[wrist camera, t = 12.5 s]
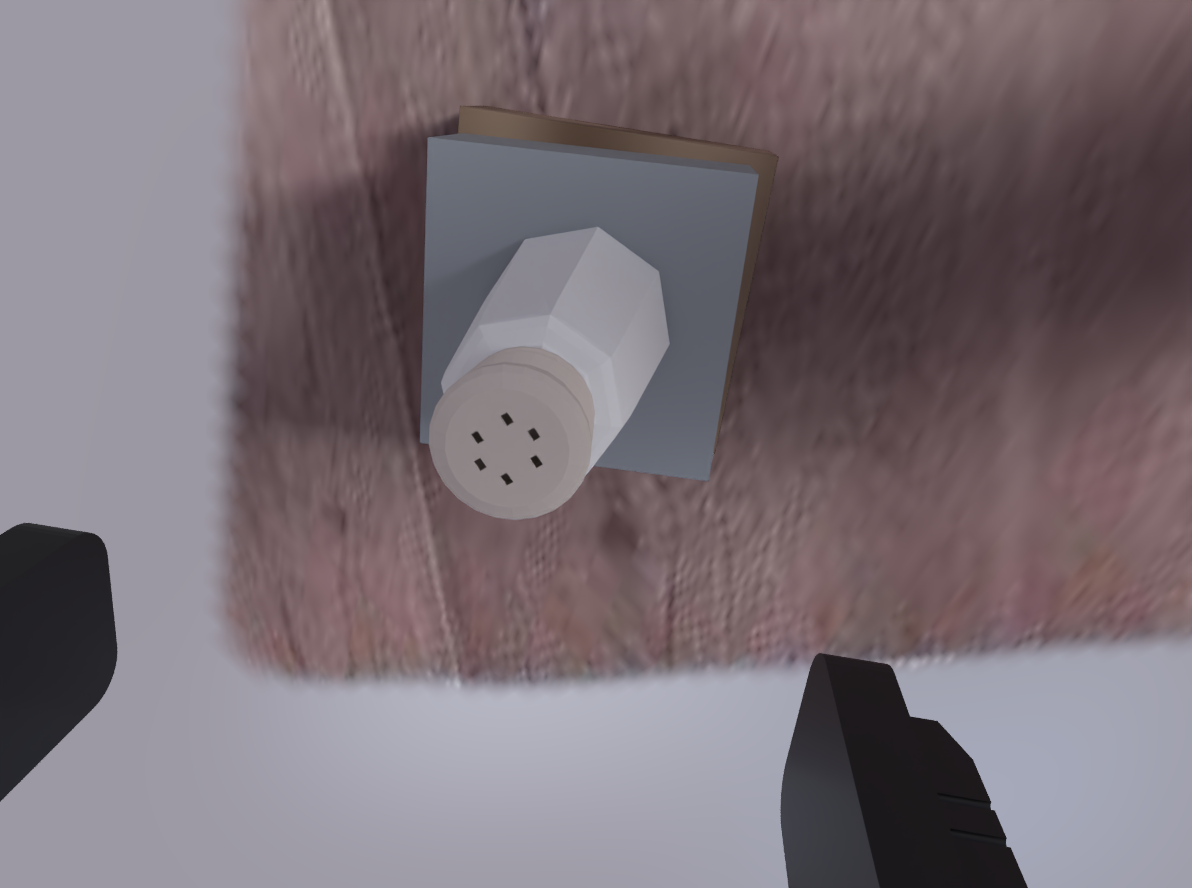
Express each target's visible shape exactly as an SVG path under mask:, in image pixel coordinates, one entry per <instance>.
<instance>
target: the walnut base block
mask: <svg viewBox="0 0 1192 888" xmlns="http://www.w3.org/2000/svg"><path fill="white" fill-rule="evenodd" d="M461 133H467V134H476V135H485V136H494V137H502V138H511V139H520V140H529V141H538V142H547V143H556V144H565V145H574V146H583V147H592V148H601V149H610V150H619V151H627V152H636V153H645V154H654V155H663V156H672V157H681V158H690V159H699V160H708V161H717V162H726V163H735V164H744V165H750V166H751V167H752V168H753V169H754V170H755V171H756V172H757V173H758V174H759V177H758V183H757V189H756V195H755V201H754V207H753V213H752V219H751V225H750V231H749V238H748V244H747V250H746V256H745V262H744V268H743V274H742V280H741V286H740V292H739V299H738V305H737V311H736V317H735V323H734V329H733V335H732V341H731V347H730V353H729V360H728V366H727V372H726V378H725V384H724V390H723V396H722V402H721V408H720V415H719V421H718V427H717V433H716V439H715V445H714V451H713V453H714V454H715V451H716V446H717V442H718V437H719V432H720V428H721V423H722V418H723V414H724V409H725V404H726V400H727V395H728V390H729V386H730V381H731V376H732V372H733V367H734V362H735V358H736V353H737V348H738V344H739V339H740V335H741V330H742V325H743V321H744V316H745V311H746V307H747V302H748V297H749V293H750V288H751V283H752V279H753V274H754V269H755V265H756V260H757V255H758V251H759V246H760V241H761V237H762V232H763V227H764V223H765V218H766V213H767V209H768V204H769V199H770V195H771V190H772V185H773V181H774V176H775V171H776V167H777V162H778V157H779V156H777V155H775V154H773V153H772V152H770V151H766V150H760V149H754V148H747V147H741V146H735V145H728V144H722V143H716V142H710V141H703V140H697V139H691V138H684V137H678V136H672V135H665V134H659V133H653V132H647V131H640V130H634V129H628V128H621V127H615V126H609V125H602V124H596V123H590V122H584V121H577V120H571V119H565V118H558V117H552V116H546V115H539V114H533V113H527V112H521V111H514V110H508V109H502V108H495V107H489V106H460V113H459V126H458V134H461Z"/></svg>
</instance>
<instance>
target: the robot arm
mask: <svg viewBox="0 0 1192 888" xmlns="http://www.w3.org/2000/svg"><path fill="white" fill-rule="evenodd" d="M116 661H117V642H116V631H115V621H114V612H113V602H112V592H111V583H110V573H109V565H108V555H107V550H106V547H105V544H104V543H103V541H102V539H101V538H100V537H99V536H97V535H95V534H92V533H88V532H82V531H75V530H69V529H63V528H57V527H51V526H45V525H38V524H32V523H23V524H19V525H16V526H14V527H12V528H11V529H9V530H7V531H6V532H4V533H3V534H1V535H0V801H1V800H2V799H3V798H4V797H5V796H6V795H7V794H8V793H9V792H10V791H11V790H12V789H13V788H14V787H15V786H16V785H17V784H18V783H19V782H20V781H21V780H22V779H23V778H24V777H25V776H26V775H27V774H28V773H29V772H30V771H31V770H32V769H33V768H34V767H35V766H36V765H37V764H38V763H39V762H40V761H41V760H42V759H43V758H44V757H45V756H46V755H47V754H48V753H49V752H50V751H51V750H52V749H53V748H54V747H55V746H56V745H57V744H58V743H59V742H60V741H61V740H62V739H63V738H64V737H65V736H66V735H67V734H68V733H69V732H70V731H71V730H72V729H73V728H74V727H75V726H76V725H77V724H78V723H79V722H80V721H81V720H82V719H83V718H84V717H85V716H86V715H87V714H88V713H89V712H90V711H91V710H92V709H93V708H94V707H95V706H96V705H97V704H98V702H99V701H100V700H101V698H102V697H103V695H104V694H105V692H106V690H107V688H108V686H109V684H110V682H111V679H112V677H113V674H114V670H115V666H116ZM990 804H991V801H990V798H989V796H988V794H987V792H986V789H985V787H984V784H983V782H982V780H981V778H980V775H979V773H978V771H977V768H976V766H975V763H974V761H973V759H972V758H971V757H970V756H969V755H968V754H967V753H966V752H965V751H964V750H963V748H962V747H961V746H960V745H959V744H958V743H957V742H956V741H955V740H954V739H953V738H952V737H951V735H950V734H949V733H948V732H947V731H946V730H945V729H944V728H943V727H942V726H941V725H940V723H938V721H934V720H927V719H921V718H915V717H910V715H909V713H908V710H907V707H906V704H905V701H904V699H903V696H902V693H901V690H900V687H899V685H898V682H897V679H896V676H895V673H894V671H893V669H892V668H891V666H890V665H888V664H884V663H878V662H871V661H865V660H859V659H853V658H847V657H841V656H834V655H828V654H822V653H819V654H817V655H816V657H815V658H814V660H813V662H812V665H811V668H810V671H809V675H808V679H807V683H806V687H805V690H804V694H803V699H802V702H801V706H800V710H799V714H798V718H797V722H796V726H795V730H794V733H793V737H792V741H791V745H790V749H789V753H788V757H787V761H786V765H785V769H784V775H783V782H782V792H781V828H782V836H783V845H784V853H785V861H786V869H787V877H788V886H789V888H1028V887H1027V885H1026V883H1025V880H1024V878H1023V875H1022V873H1021V871H1020V869H1019V866H1018V864H1017V861H1016V859H1015V857H1014V855H1013V852H1012V850H1011V848H1010V847H1006V836H1005V833H1004V832H1003V829H1002V826H1001V824H1000V822H999V819H998V817H997V815H996V813H995V811H994V810H991V808H990Z"/></svg>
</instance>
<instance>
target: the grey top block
mask: <svg viewBox="0 0 1192 888" xmlns="http://www.w3.org/2000/svg"><path fill="white" fill-rule="evenodd" d="M758 177H759V174H758V173H757V172H756V171H755V170H754V169H753V168H752V167H751V166H750V165H744V164H735V163H726V162H717V161H708V160H699V159H690V158H681V157H672V156H663V155H654V154H645V153H636V152H627V151H619V150H610V149H601V148H592V147H583V146H574V145H565V144H556V143H547V142H538V141H529V140H520V139H511V138H502V137H494V136H485V135H476V134H467V133H461V134H452V135H444V136H435V137H428V150H427V188H426V226H425V264H424V302H423V340H422V378H421V416H420V443H425V444H429V428H430V422H431V419H432V416H433V413H434V410H435V406H436V405H437V403H438V402H439V400H440V399H441V397H442V396H443V389H442V385H441V381H442V378H443V376H444V373H445V371H446V369H447V367H448V365H449V363H450V362H451V360H452V358H453V356H454V354H455V353H456V351H457V349H458V347H459V345H460V344H461V342H462V340H463V338H464V337H465V335H466V333H467V331H468V329H469V328H470V326H471V324H472V322H473V320H474V319H475V317H476V315H477V313H478V311H479V310H480V308H481V306H482V304H483V302H484V301H485V299H486V298H487V296H488V294H489V293H490V291H491V290H492V288H493V287H494V285H495V284H496V282H497V281H498V279H499V278H500V276H501V275H502V273H503V272H504V270H505V269H506V267H507V266H508V264H509V263H510V261H511V260H512V258H513V257H514V255H515V254H516V252H517V251H518V249H519V248H520V246H521V244H522V243H523V241H524V240H525V239H529V238H535V237H541V236H547V235H553V234H558V233H564V232H570V231H576V230H582V229H588V228H594V227H599V228H601V229H602V230H603V231H605V232H606V233H607V234H609V235H610V236H612V237H613V238H614V239H616V240H617V241H618V242H620V243H621V244H622V245H624V246H625V247H626V248H628V249H629V250H631V251H632V252H633V253H635V254H636V255H637V256H639V257H640V258H641V259H643V260H644V261H645V262H647V263H648V264H650V265H651V266H652V267H654V268H655V269H656V270H658V271H659V275H660V281H661V288H662V295H663V302H664V308H665V315H666V322H667V329H668V336H669V342H670V344H669V346H668V348H667V350H666V352H665V354H664V355H663V357H662V359H661V361H660V363H659V365H658V366H657V368H656V370H655V372H654V374H653V376H652V377H651V379H650V381H649V383H648V385H647V387H646V388H645V390H644V392H643V394H642V396H641V398H640V400H639V401H638V403H637V405H636V407H635V409H634V411H633V412H632V414H631V416H630V418H629V419H628V420H627V422H626V423H625V425H624V426H623V427H622V429H621V430H620V432H619V433H618V435H617V436H616V437H615V439H614V440H613V441H612V443H611V444H610V445H609V446H608V448H607V449H606V450H605V452H604V453H603V454H602V456H601V457H600V458H599V459H598V461H597V462H596V463H595V465H594V466H597V467H605V468H613V469H620V470H628V471H635V472H643V473H650V474H658V475H665V476H673V477H680V478H688V479H695V480H703V481H709V476H710V469H711V463H712V457H713V451H714V445H715V439H716V433H717V427H718V421H719V415H720V408H721V402H722V396H723V390H724V384H725V378H726V372H727V366H728V360H729V353H730V347H731V341H732V335H733V329H734V323H735V317H736V311H737V305H738V299H739V292H740V286H741V280H742V274H743V268H744V262H745V256H746V250H747V244H748V238H749V231H750V225H751V219H752V213H753V207H754V201H755V195H756V189H757V183H758Z"/></svg>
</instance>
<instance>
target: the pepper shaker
mask: <svg viewBox="0 0 1192 888" xmlns="http://www.w3.org/2000/svg"><path fill="white" fill-rule="evenodd" d="M669 344H670V342H669V336H668V329H667V322H666V315H665V308H664V302H663V295H662V288H661V281H660V275H659V271H658V270H656V269H655V268H654V267H652V266H651V265H650V264H648V263H647V262H645V261H644V260H643V259H641V258H640V257H639V256H637V255H636V254H635V253H633V252H632V251H631V250H629V249H628V248H626V247H625V246H624V245H622V244H621V243H620V242H618V241H617V240H616V239H614V238H613V237H612V236H610V235H609V234H607V233H606V232H605V231H603V230H602V229H601V228H599V227H594V228H588V229H582V230H576V231H570V232H564V233H558V234H553V235H547V236H541V237H535V238H529V239H525V240H524V241H523V243H522V244H521V246H520V248H519V249H518V251H517V252H516V254H515V255H514V257H513V258H512V260H511V261H510V263H509V264H508V266H507V267H506V269H505V270H504V272H503V273H502V275H501V276H500V278H499V279H498V281H497V282H496V284H495V285H494V287H493V288H492V290H491V291H490V293H489V294H488V296H487V298H486V299H485V301H484V302H483V304H482V306H481V308H480V310H479V311H478V313H477V315H476V317H475V319H474V320H473V322H472V324H471V326H470V328H469V329H468V331H467V333H466V335H465V337H464V338H463V340H462V342H461V344H460V345H459V347H458V349H457V351H456V353H455V354H454V356H453V358H452V360H451V362H450V363H449V365H448V367H447V369H446V371H445V373H444V376H443V378H442V381H441V385H442V389H443V396H442V397H441V399H440V400H439V402H438V403H437V405H436V406H435V410H434V413H433V416H432V419H431V422H430V428H429V447H430V451H431V455H432V459H433V463H434V466H435V468H436V470H437V472H438V474H439V475H440V477H441V479H442V481H443V483H444V484H445V485H446V486H447V487H448V488H449V489H450V491H451V492H452V493H453V494H454V495H455V496H456V497H457V498H458V499H459V500H461V501H462V502H464V503H465V504H467V505H468V506H470V507H471V508H473V509H474V510H476V511H479V512H481V513H484V514H487V515H489V516H492V517H495V518H503V519H511V520H520V519H528V518H536V517H538V516H541V515H543V514H546V513H549V512H551V511H554V510H555V509H557V508H558V507H559V506H561V505H562V504H563V503H565V502H566V501H567V500H569V499H570V498H571V497H572V496H573V494H574V493H575V492H576V490H577V489H578V488H579V486H580V485H581V484H582V483H583V480H584V477H585V475H586V474H587V473H588V472H589V471H590V470H591V469H592V467H593V466H594V465H595V463H596V462H597V461H598V459H599V458H600V457H601V456H602V454H603V453H604V452H605V450H606V449H607V448H608V446H609V445H610V444H611V443H612V441H613V440H614V439H615V437H616V436H617V435H618V433H619V432H620V430H621V429H622V427H623V426H624V425H625V423H626V422H627V420H628V419H629V418H630V416H631V414H632V412H633V411H634V409H635V407H636V405H637V403H638V401H639V400H640V398H641V396H642V394H643V392H644V390H645V388H646V387H647V385H648V383H649V381H650V379H651V377H652V376H653V374H654V372H655V370H656V368H657V366H658V365H659V363H660V361H661V359H662V357H663V355H664V354H665V352H666V350H667V348H668V346H669Z"/></svg>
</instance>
